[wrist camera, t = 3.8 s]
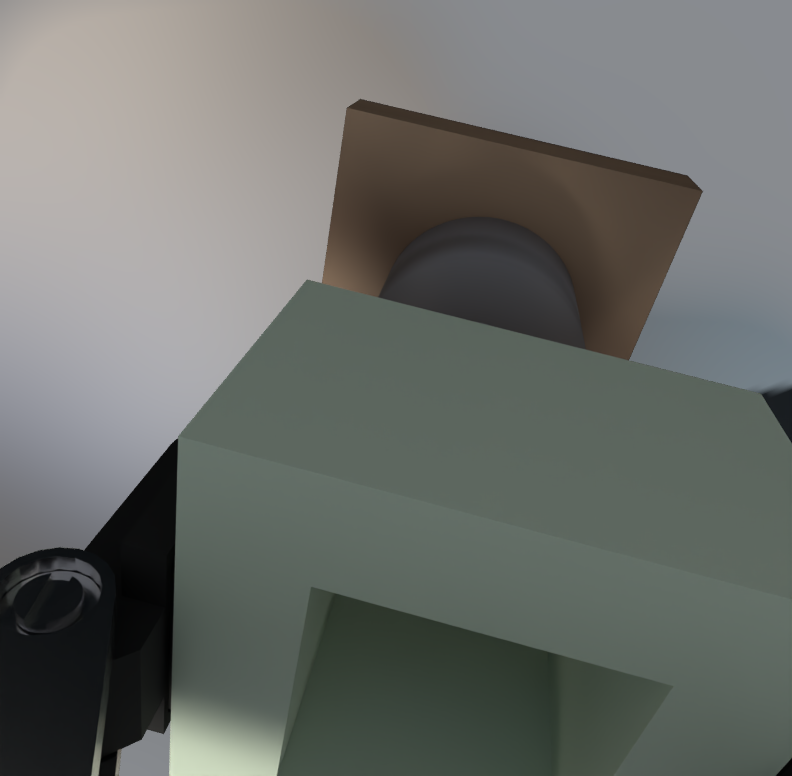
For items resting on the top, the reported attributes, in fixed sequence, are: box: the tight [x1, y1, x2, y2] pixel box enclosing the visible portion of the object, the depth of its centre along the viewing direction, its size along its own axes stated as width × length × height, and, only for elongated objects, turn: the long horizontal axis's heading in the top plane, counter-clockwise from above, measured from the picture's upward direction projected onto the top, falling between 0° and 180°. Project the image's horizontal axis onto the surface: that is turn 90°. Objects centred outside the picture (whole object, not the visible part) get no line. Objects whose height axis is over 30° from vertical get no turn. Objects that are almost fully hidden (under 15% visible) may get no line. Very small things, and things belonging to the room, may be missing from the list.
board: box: [322, 99, 703, 360], centre depth 18 cm, size 23×8×8 cm, turn 169°
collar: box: [169, 280, 792, 776], centre depth 9 cm, size 6×6×4 cm
